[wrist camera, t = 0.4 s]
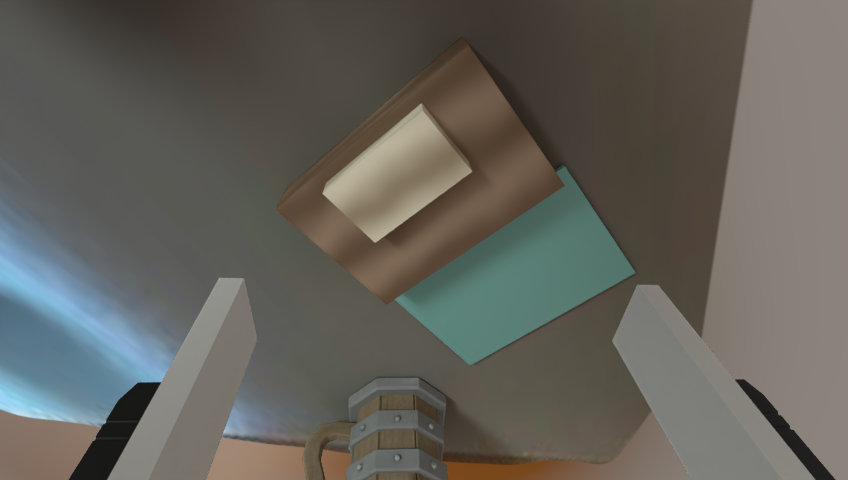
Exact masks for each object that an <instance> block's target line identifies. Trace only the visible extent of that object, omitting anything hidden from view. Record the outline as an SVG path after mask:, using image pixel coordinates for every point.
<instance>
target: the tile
mask: <svg viewBox="0 0 848 480" xmlns="http://www.w3.org/2000/svg"><path fill="white" fill-rule="evenodd" d="M471 172H472V169H471V167H470V164H469V161H468V160H467V159H466V158H465V156H464V155H463V154H462V153H461V151H460V150H459V149H458V148H457V146H456V145H455V144H454V143H453V141H452V140H451V139H450V138H449V136H448V135H447V134H446V133H445V131H444V130H443V129H442V128H441V126H440V125H439V124H438V123H437V121H436V120H435V119H434V118H433V116H432V115H431V114H430V113H429V111H428V110H427V109H426V108H425V106H424V105H423V104H422V103H421V104H420V105H419V106H418V107H416V108H415V109H414V110H413V111H412V112H410V113H409V114H408V115H407V116H406V117H404V118H403V119H402V120H401V121H400V122H398V123H397V124H396V125H395V126H394V127H392V128H391V129H390V130H389V131H388V132H386V133H385V134H384V135H383V136H382V137H380V138H379V139H378V140H377V141H376V142H374V143H373V144H372V145H371V146H370V147H368V148H367V149H366V150H365V151H364V152H362V153H361V154H360V155H359V156H358V157H356V158H355V159H354V160H353V161H352V162H350V163H349V164H348V165H347V166H346V167H344V168H343V169H342V170H341V171H340V172H338V173H337V174H336V175H335V176H334V177H332V178H331V179H330V180H329V181H328V182H326V185H325V188H324V191H323V195H324V196H325V197H327V198H328V199H329V200H330V201H331V202H332V203H333V204H334V205H335V206H336V207H337V208H338V209H339V210H340V211H341V212H343V213H344V214H345V215H346V216H347V217H348V218H349V219H350V220H351V221H352V222H353V223H354V224H355V225H356V226H357V227H359V228H360V229H361V230H362V231H363V232H364V233H365V234H366V235H367V236H368V237H369V238H370V239H371V240H372V241H373V242H375V243H376V242H377V241H379V240H380V239H381V238H383V237H384V236H385V235H387V234H388V233H389V232H391V231H392V230H394V229H395V228H396V227H398V226H399V225H400V224H402V223H403V222H404V221H406V220H407V219H408V218H410V217H411V216H413V215H414V214H415V213H417V212H418V211H419V210H421V209H422V208H423V207H425V206H426V205H428V204H429V203H430V202H432V201H433V200H434V199H436V198H437V197H438V196H440V195H441V194H443V193H444V192H445V191H447V190H448V189H449V188H451V187H452V186H453V185H455V184H456V183H458V182H459V181H460V180H462V179H463V178H464V177H466V176H467V175H468V174H470V173H471Z"/></svg>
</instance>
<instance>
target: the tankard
mask: <svg viewBox="0 0 848 480" xmlns="http://www.w3.org/2000/svg"><path fill="white" fill-rule="evenodd" d="M348 411H349V422H334V423H328V424H323V425H319V427H318V428H317V429H316V431H315V432H314V433H313V434H312V436H311V437H310V438H309V440H308V441H307V442H306V446H305V450H304V454H303V458H302V460H303V465H304V471H305V476H306V480H325V476H324V472H323V468H322V463H321V456H322V451H323V449H324V447H325V446H326V444H327V443H328V442H329V441H333V440H346V441H350V445H349V447H348V448H349V450H350V454H351V465H350V466H348V467H347V473H346V480H448V476H447V465H446V464H444V463H443V462H442V457H443V449H444V448H445V444H444V432H443V429H444V421H445V412H446V396H445V395H443V394H442V393H440V392H439V391H437V390H436V389H434V388H433V387H431V386H430V385H429V384H427V383H426V382H424V381H423V380H421V379H420V378H418V377H413V378H377V379H375V380H374V381H372V382H371V383H369V384H368V385H366V386H365V387H363V388H362V389H360V390H359V391H357V392H356V393H355V394H353V395H352V396H350V397H349V402H348Z"/></svg>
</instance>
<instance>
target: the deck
mask: <svg viewBox="0 0 848 480" xmlns="http://www.w3.org/2000/svg"><path fill="white" fill-rule="evenodd" d="M421 103H422V104H423V105H424V106H425V108H426V109H427V110H428V111H429V113H430V114H431V115H432V116H433V118H434V119H435V120H436V121H437V123H438V124H439V125H440V126H441V128H442V129H443V130H444V131H445V133H446V134H447V135H448V136H449V138H450V139H451V140H452V141H453V143H454V144H455V145H456V146H457V148H458V149H459V150H460V151H461V153H462V154H463V155H464V156H465V158H466V159H467V160H468V161H469V164H470V167H471V169H472V172H471V173H470V174H468V175H467V176H466V177H464V178H463V179H462V180H460V181H459V182H458V183H456V184H455V185H453V186H452V187H451V188H449V189H448V190H447V191H445V192H444V193H443V194H441V195H440V196H438V197H437V198H436V199H434V200H433V201H432V202H430V203H429V204H428V205H426V206H425V207H423V208H422V209H421V210H419V211H418V212H417V213H415V214H414V215H413V216H411V217H410V218H408V219H407V220H406V221H404V222H403V223H402V224H400V225H399V226H398V227H396V228H395V229H394V230H392V231H391V232H389V233H388V234H387V235H385V236H384V237H383V238H381V239H380V240H379V241H377V242H376V243H375V242H373V241H372V240H371V239H370V238H369V237H368V236H367V235H366V234H365V233H364V232H363V231H362V230H361V229H360V228H359V227H357V226H356V225H355V224H354V223H353V222H352V221H351V220H350V219H349V218H348V217H347V216H346V215H345V214H344V213H343V212H341V211H340V210H339V209H338V208H337V207H336V206H335V205H334V204H333V203H332V202H331V201H330V200H329V199H328V198H327V197H325V196H324V195H323V191H324V188H325V185H326V182H328V181H329V180H330V179H331V178H332V177H334V176H335V175H336V174H337V173H338V172H340V171H341V170H342V169H343V168H344V167H346V166H347V165H348V164H349V163H350V162H352V161H353V160H354V159H355V158H356V157H358V156H359V155H360V154H361V153H362V152H364V151H365V150H366V149H367V148H368V147H370V146H371V145H372V144H373V143H374V142H376V141H377V140H378V139H379V138H380V137H382V136H383V135H384V134H385V133H386V132H388V131H389V130H390V129H391V128H392V127H394V126H395V125H396V124H397V123H398V122H400V121H401V120H402V119H403V118H404V117H406V116H407V115H408V114H409V113H410V112H412V111H413V110H414V109H415V108H416V107H418V106H419V105H420V104H421ZM564 186H565V185H564V183H563V182H562V180H561V179H560V177H559V176H558V174H557V173H556V172H555V170H554V169H553V167H552V166H551V164H550V163H549V161H548V160H547V158H546V157H545V156H544V154H543V153H542V151H541V150H540V148H539V147H538V145H537V144H536V142H535V141H534V139H533V138H532V137H531V135H530V134H529V132H528V131H527V129H526V128H525V126H524V125H523V123H522V122H521V121H520V119H519V118H518V116H517V115H516V113H515V112H514V110H513V109H512V107H511V106H510V104H509V103H508V102H507V100H506V99H505V97H504V96H503V94H502V93H501V91H500V90H499V88H498V87H497V85H496V84H495V83H494V81H493V80H492V78H491V77H490V75H489V74H488V72H487V71H486V69H485V68H484V67H483V65H482V64H481V62H480V61H479V59H478V58H477V56H476V55H475V53H474V52H473V50H472V49H471V48H470V46H469V45H468V44H467V42H466V41H465V40H464V39H463V38H462V37H461V38H460V39H459V40H458V41H457V42H455V43H454V44H453V45H452V46H451V47H450V48H448V49H447V50H446V51H445V52H444V53H443V54H441V55H440V56H439V57H438V58H437V59H436V60H435V61H433V62H432V63H431V64H430V65H429V66H428V67H426V68H425V69H424V70H423V71H422V72H421V73H419V74H418V75H417V76H416V77H415V78H414V79H413V80H411V81H410V82H409V83H408V84H407V85H406V86H404V87H403V88H402V89H401V90H400V91H399V92H397V93H396V94H395V95H394V96H393V97H392V98H391V99H389V100H388V101H387V102H386V103H385V104H384V105H382V106H381V107H380V108H379V109H378V110H377V111H375V112H374V113H373V114H372V115H371V116H370V117H369V118H367V119H366V120H365V121H364V122H363V123H362V124H360V125H359V126H358V127H357V128H356V129H355V130H354V131H352V132H351V133H350V134H349V135H348V136H347V137H345V138H344V139H343V140H342V141H341V142H340V143H338V144H337V145H336V146H335V147H334V148H333V149H332V150H330V151H329V152H328V153H327V154H326V155H325V156H323V157H322V158H321V159H320V160H319V161H318V162H316V163H315V164H314V165H313V166H312V167H311V168H310V169H308V170H307V171H306V172H305V173H304V174H303V175H301V176H300V177H299V178H298V179H297V180H296V181H294V182H293V183H292V184H291V185H290V186H289V187H288V188H286V190H285V192H284V194H283V196H282V198H281V200H280V202H279V204H278V206H277V208H276V210H277V211H278V212H279V213H280V214H281V215H283V216H284V217H285V218H286V219H287V220H288V221H290V222H291V223H292V224H293V225H294V226H295V227H297V228H298V229H299V230H300V231H301V232H302V233H304V234H305V235H306V236H307V237H308V238H309V239H311V240H312V241H313V242H314V243H315V244H316V245H318V246H319V247H320V248H321V249H322V250H323V251H325V252H326V253H327V254H328V255H329V256H330V257H332V258H333V259H334V260H335V261H336V262H338V263H339V264H340V265H341V266H342V267H343V268H345V269H346V270H347V271H348V272H349V273H350V274H352V275H353V276H354V277H355V278H356V279H357V280H359V281H360V282H361V283H362V284H363V285H364V286H366V287H367V288H368V289H369V290H370V291H371V292H373V293H374V294H375V295H376V296H377V297H378V298H380V299H381V300H382V301H383V302H384V303H385V304H388V303H390V302H391V301H393V300H394V299H396V298H397V297H399V296H400V295H402V294H403V293H405V292H406V291H408V290H409V289H411V288H412V287H414V286H415V285H417V284H418V283H420V282H421V281H423V280H424V279H426V278H427V277H429V276H430V275H432V274H433V273H435V272H436V271H438V270H439V269H441V268H442V267H444V266H445V265H447V264H448V263H450V262H451V261H453V260H454V259H456V258H457V257H459V256H460V255H462V254H463V253H465V252H466V251H468V250H469V249H471V248H472V247H474V246H475V245H477V244H478V243H480V242H481V241H483V240H484V239H486V238H487V237H489V236H490V235H492V234H493V233H495V232H496V231H498V230H499V229H501V228H502V227H504V226H505V225H507V224H508V223H510V222H511V221H513V220H514V219H516V218H517V217H519V216H520V215H522V214H523V213H525V212H526V211H528V210H529V209H531V208H532V207H534V206H535V205H537V204H538V203H540V202H541V201H543V200H544V199H546V198H547V197H549V196H550V195H552V194H553V193H555V192H556V191H558V190H559V189H561V188H562V187H564Z"/></svg>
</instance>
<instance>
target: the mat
mask: <svg viewBox="0 0 848 480" xmlns="http://www.w3.org/2000/svg"><path fill="white" fill-rule="evenodd" d="M555 172H556V173H557V174H558V176H559V177H560V179H561V180H562V182H563V183H564V185H565V186H564V187H562V188H561V189H559V190H558V191H556V192H555V193H553V194H552V195H550V196H549V197H547V198H546V199H544V200H543V201H541V202H540V203H538V204H537V205H535V206H534V207H532V208H531V209H529V210H528V211H526V212H525V213H523V214H522V215H520V216H519V217H517V218H516V219H514V220H513V221H511V222H510V223H508V224H507V225H505V226H504V227H502V228H501V229H499V230H498V231H496V232H495V233H493V234H492V235H490V236H489V237H487V238H486V239H484V240H483V241H481V242H480V243H478V244H477V245H475V246H474V247H472V248H471V249H469V250H468V251H466V252H465V253H463V254H462V255H460V256H459V257H457V258H456V259H454V260H453V261H451V262H450V263H448V264H447V265H445V266H444V267H442V268H441V269H439V270H438V271H436V272H435V273H433V274H432V275H430V276H429V277H427V278H426V279H424V280H423V281H421V282H420V283H418V284H417V285H415V286H414V287H412V288H411V289H409V290H408V291H406V292H405V293H403V294H402V295H400V296H399V297H397V298H396V299H395V300H396V301H397V302H398V303H399V304H400V305H401V306H403V307H404V308H405V309H406V310H407V311H408V312H409V313H411V314H412V315H413V316H414V317H415V318H416V319H417V320H419V321H420V322H421V323H422V324H423V325H424V326H425V327H427V328H428V329H429V330H430V331H431V332H432V333H433V334H435V335H436V336H437V337H438V338H439V339H440V340H441V341H443V342H444V343H445V344H446V345H447V346H448V347H449V348H451V349H452V350H453V351H454V352H455V353H456V354H457V355H459V356H460V357H461V358H462V359H463V360H464V361H465V362H467V363H468V364H469V365H472V364H474V363H476V362H477V361H479V360H481V359H483V358H485V357H486V356H488V355H490V354H492V353H494V352H495V351H497V350H499V349H501V348H502V347H504V346H506V345H508V344H510V343H511V342H513V341H515V340H517V339H519V338H520V337H522V336H524V335H526V334H527V333H529V332H531V331H533V330H535V329H536V328H538V327H540V326H542V325H544V324H545V323H547V322H549V321H551V320H552V319H554V318H556V317H558V316H560V315H561V314H563V313H565V312H567V311H568V310H570V309H572V308H574V307H576V306H577V305H579V304H581V303H583V302H585V301H586V300H588V299H590V298H592V297H593V296H595V295H597V294H599V293H601V292H602V291H604V290H606V289H608V288H610V287H611V286H613V285H615V284H617V283H618V282H620V281H622V280H624V279H626V278H627V277H629V276H631V275H633V274H635V273H636V272H635V271H634V269H633V268H632V266H631V265H630V263H629V262H628V260H627V259H626V257H625V256H624V254H623V253H622V251H621V250H620V248H619V247H618V245H617V244H616V242H615V241H614V239H613V238H612V236H611V235H610V233H609V232H608V230H607V229H606V227H605V226H604V224H603V223H602V221H601V220H600V218H599V217H598V215H597V214H596V212H595V211H594V209H593V208H592V206H591V205H590V203H589V202H588V200H587V199H586V197H585V196H584V194H583V193H582V191H581V190H580V188H579V187H578V185H577V184H576V182H575V181H574V179H573V178H572V176H571V175H570V173H569V172H568V170H567V169H566V167H565V166H564V165H561V166H560V167H558V168H557V169H555Z"/></svg>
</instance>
